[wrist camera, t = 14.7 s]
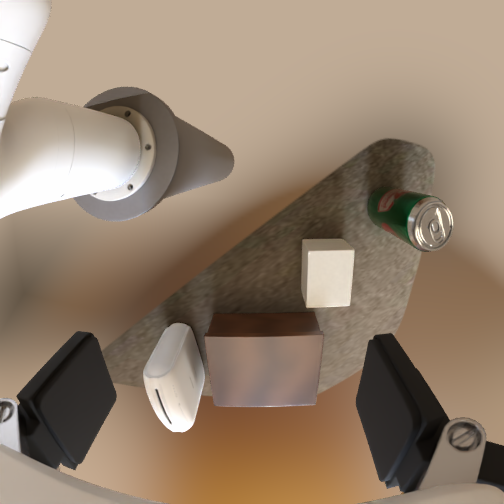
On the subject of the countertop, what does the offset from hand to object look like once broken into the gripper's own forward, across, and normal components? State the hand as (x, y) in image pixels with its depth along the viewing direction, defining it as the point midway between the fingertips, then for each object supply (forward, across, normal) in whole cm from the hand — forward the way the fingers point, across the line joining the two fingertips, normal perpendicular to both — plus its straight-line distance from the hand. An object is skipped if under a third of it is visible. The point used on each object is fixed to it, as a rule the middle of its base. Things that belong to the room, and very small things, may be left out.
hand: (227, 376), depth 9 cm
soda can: (+26, -16, -2) cm, 31 cm away
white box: (+26, -8, +5) cm, 28 cm away
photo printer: (+26, +10, +18) cm, 34 cm away
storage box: (+26, -1, +17) cm, 31 cm away
